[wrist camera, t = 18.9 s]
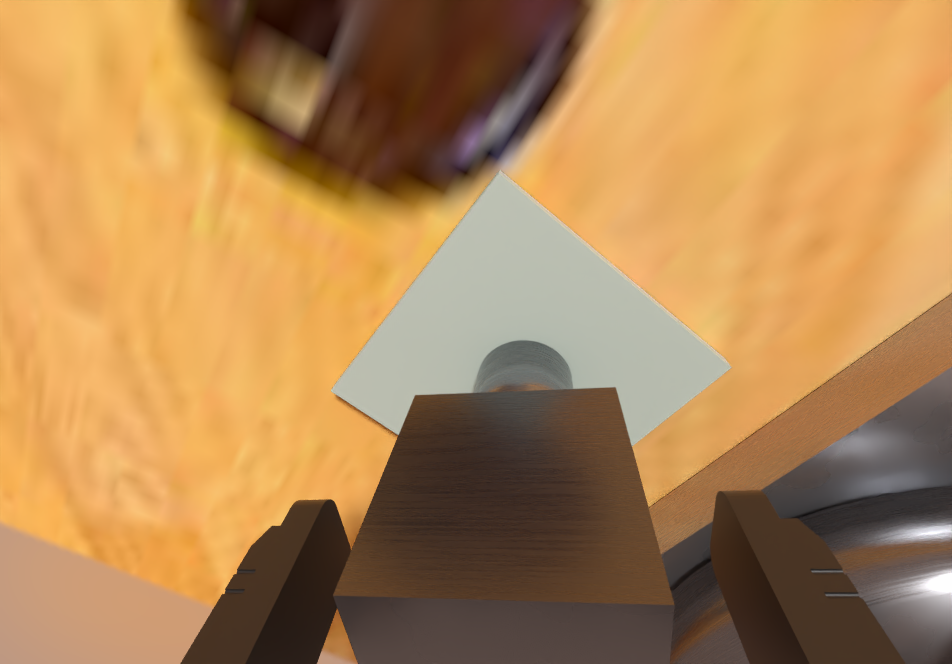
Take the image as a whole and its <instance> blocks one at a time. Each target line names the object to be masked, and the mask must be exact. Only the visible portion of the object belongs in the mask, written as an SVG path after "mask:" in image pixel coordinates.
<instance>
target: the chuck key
mask: <svg viewBox="0 0 952 664" xmlns="http://www.w3.org/2000/svg"><path fill="white" fill-rule="evenodd" d="M333 597H334V600H335V603H336V605H337V608H338V611H339V614H340V616H341V619H342V622H343V624H344V627H345V630H346V632H347V635H348V638H349V641H350V643H351V646H352V649H353V651H354V654H355V657H356V659H357V662H358V664H670V654H671V642H672V631H673V619H674V607H675V605H674V601H673V597H672V593H671V590H670V586H669V582H668V579H667V575H666V571H665V568H664V564H663V560H662V556H661V553H660V549H659V545H658V542H657V538H656V534H655V530H654V527H653V523H652V519H651V516H650V512H649V508H648V505H647V501H646V497H645V493H644V490H643V486H642V482H641V479H640V475H639V471H638V468H637V464H636V460H635V456H634V453H633V449H632V445H631V442H630V438H629V434H628V431H627V427H626V423H625V419H624V416H623V412H622V408H621V405H620V401H619V397H618V393H617V390H616V387H608V388H582V389H573V382H572V375H571V371H570V368H569V366H568V364H567V362H566V361H565V359H564V358H563V357H562V356H561V355H560V354H559V353H558V352H557V351H555V350H554V349H553V348H551V347H549V346H547V345H545V344H542V343H539V342H535V341H529V340H518V341H512V342H508V343H505V344H502V345H500V346H498V347H497V348H495V349H494V350H492V351H491V352H490V353H489V354H488V355H487V356H486V357H485V358H484V360H483V362H482V363H481V365H480V368H479V371H478V375H477V380H476V385H475V389H474V393H456V394H430V395H415V396H414V399H413V401H412V404H411V406H410V409H409V411H408V413H407V416H406V418H405V421H404V423H403V426H402V428H401V431H400V433H399V435H398V438H397V440H396V443H395V445H394V448H393V450H392V452H391V455H390V457H389V460H388V462H387V465H386V467H385V470H384V472H383V474H382V477H381V479H380V482H379V484H378V487H377V489H376V492H375V494H374V496H373V499H372V501H371V504H370V506H369V509H368V511H367V513H366V516H365V518H364V521H363V523H362V526H361V528H360V531H359V533H358V535H357V538H356V540H355V543H354V545H353V548H352V550H351V553H350V555H349V557H348V560H347V562H346V565H345V567H344V570H343V572H342V574H341V577H340V579H339V582H338V584H337V587H336V589H335V592H334V594H333Z"/></svg>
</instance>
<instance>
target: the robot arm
mask: <svg viewBox="0 0 952 664" xmlns="http://www.w3.org/2000/svg"><path fill="white" fill-rule="evenodd" d="M350 553H351V548H350V544H349V542H348V539H347V536H346V533H345V530H344V527H343V524H342V521H341V518H340V515H339V512H338V510H337V507H336V504H335V502H334V501H333V500H331V499H330V500H298V501H296V502H295V503H294V504H293V505H292V507H291V508H290V510H289V512H288V514H287V515H286V517H285V519H284V521H283V523H282V524H281V526H272V527H270V528H269V529H268V530H267V531H266V532H265V533H264V534H263V535H262V536H261V537H260V538H259V539H258V540H257V541H256V542H255V543H254V544H253V545H252V546H251V547H250V549H249V551H248V552H247V554H246V556H245V557H244V559H243V561H242V562H241V564H240V566H239V567H238V569H237V574H234V576H233V577H232V579H231V580H230V582H229V584H228V585H227V587H226V589H225V590H226V591H225V594H222V595H221V597H220V599H219V600H218V602H217V604H216V605H215V607H214V609H213V610H212V612H211V614H210V616H209V617H208V619H207V620H206V622H205V624H204V626H203V627H202V629H201V630H200V632H199V634H198V635H197V637H196V639H195V640H194V642H193V644H192V645H191V647H190V649H189V650H188V652H187V654H186V655H185V657H184V659H183V660H182V662H181V664H317V662H318V659H319V656H320V653H321V651H322V648H323V645H324V642H325V640H326V637H327V634H328V631H329V629H330V626H331V623H332V620H333V618H334V615H335V612H336V609H337V605H336V603H335V600H334V597H333V594H334V592H335V589H336V587H337V584H338V582H339V579H340V577H341V574H342V572H343V570H344V567H345V565H346V562H347V560H348V557H349V555H350ZM710 553H711V560H712V565H713V570H714V573H715V576H716V579H717V582H718V584H719V587H720V589H721V592H722V594H723V597H724V600H725V602H726V605H727V607H728V610H729V612H730V615H731V617H732V620H733V623H734V625H735V628H736V630H737V633H738V635H739V638H740V640H741V643H742V646H743V648H744V651H745V653H746V656H747V658H748V661H749V663H750V664H906V663H905V662H904V660H903V659H902V657H901V656H900V654H899V653H898V651H897V650H896V648H895V646H894V645H893V643H892V642H891V640H890V639H889V637H888V636H887V634H886V633H885V631H884V630H883V628H882V627H881V625H880V624H879V622H878V621H877V619H876V618H875V616H874V615H873V613H872V612H871V610H870V609H869V607H868V606H867V604H866V603H865V601H864V600H863V598H860V597H859V594H858V591H857V589H856V588H855V586H854V585H853V583H852V582H851V580H850V579H849V577H848V576H847V574H844V573H843V568H842V567H841V565H840V564H839V562H838V561H837V559H836V558H835V556H834V555H833V553H832V552H831V550H830V549H829V547H828V546H827V544H826V543H825V541H824V540H822V539H821V538H820V537H819V536H818V535H817V534H815V533H814V532H813V531H812V530H811V529H809V528H808V527H807V526H806V525H805V524H803V523H802V522H801V521H800V520H799V519H797V518H779V516H778V514H777V513H776V511H775V509H774V508H773V506H772V504H771V503H770V501H769V499H768V498H767V496H766V495H765V494H764V492H762V491H761V490H736V491H719V492H718V493H717V495H716V501H715V509H714V517H713V525H712V533H711V541H710Z"/></svg>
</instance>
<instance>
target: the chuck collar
mask: <svg viewBox="0 0 952 664" xmlns="http://www.w3.org/2000/svg"><path fill="white" fill-rule="evenodd" d="M798 519H799V520H800V521H801V522H802V523H803V524H805V525H806V526H807V527H808V528H809V529H811V530H812V531H813V532H814V533H815V534H817V535H818V536H819V537H820V538H821V539H822V540H824V541H825V543H826V544H827V546H828V547H829V549H830V550H831V552H832V553H833V555H834V556H835V558H836V559H837V561H838V562H839V564H840V565H841V567H842V568H843V573H844V574H847V576H848V577H849V579H850V580H851V582H852V583H853V585H854V586H855V588H856V589H857V591H858V594H859V597H860V598H863V600H864V601H865V603H866V604H867V606H868V607H869V609H870V610H871V612H872V613H873V615H874V616H875V618H876V619H877V621H878V622H879V624H880V625H881V627H882V628H883V630H884V631H885V633H886V634H887V636H888V637H889V639H890V640H891V642H892V643H893V645H894V646H895V648H896V650H897V651H898V653H899V654H900V656H901V657H902V659H903V660H904V662H905V663H906V664H952V486H947V487H933V488H925V489H918V490H912V491H906V492H899V493H893V494H887V495H881V496H876V497H872V498H868V499H864V500H860V501H855V502H851V503H847V504H843V505H839V506H835V507H831V508H828V509H825V510H822V511H819V512H816V513H813V514H810V515H807V516H804V517H801V518H798ZM671 593H672V597H673V601H674V605H675V607H674V619H673V631H672V642H671V654H670V664H750V663H749V661H748V658H747V656H746V653H745V651H744V648H743V646H742V643H741V640H740V638H739V635H738V633H737V630H736V628H735V625H734V623H733V620H732V617H731V615H730V612H729V610H728V607H727V605H726V602H725V600H724V597H723V594H722V592H721V589H720V587H719V584H718V582H717V579H716V576H715V573H714V570H713V565H712V561H710V562H709V563H707V564H706V565H705V566H703V567H702V568H700V569H699V570H697V571H696V572H695V573H693V574H692V575H690V576H689V577H688V578H687V579H686V580H684V581H683V582H682V583H681V584H680V585H679V586H678V587H677V588H676V589H674V590H673V591H672V592H671Z"/></svg>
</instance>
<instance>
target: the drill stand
mask: <svg viewBox="0 0 952 664" xmlns="http://www.w3.org/2000/svg"><path fill="white" fill-rule="evenodd" d="M947 486H952V294H951V295H950V296H948V297H947V298H945V299H944V300H943V301H941V302H940V303H938V304H937V305H935V306H934V307H933V308H931V309H930V310H928V311H927V312H926V313H924V314H923V315H921V316H920V317H918V318H917V319H916V320H914V321H913V322H911V323H910V324H909V325H907V326H906V327H904V328H903V329H901V330H900V331H899V332H897V333H896V334H894V335H893V336H892V337H890V338H889V339H887V340H886V341H884V342H883V343H882V344H880V345H879V346H877V347H876V348H875V349H873V350H872V351H870V352H869V353H867V354H866V355H865V356H863V357H862V358H860V359H859V360H858V361H856V362H855V363H853V364H852V365H850V366H849V367H848V368H846V369H845V370H843V371H842V372H841V373H839V374H838V375H836V376H835V377H834V378H832V379H831V380H829V381H828V382H826V383H825V384H824V385H822V386H821V387H819V388H818V389H817V390H815V391H814V392H812V393H811V394H809V395H808V396H807V397H805V398H804V399H802V400H801V401H800V402H798V403H797V404H795V405H794V406H792V407H791V408H790V409H788V410H787V411H785V412H784V413H783V414H781V415H780V416H778V417H777V418H775V419H774V420H773V421H771V422H770V423H768V424H767V425H766V426H764V427H763V428H761V429H760V430H758V431H757V432H756V433H754V434H753V435H751V436H750V437H749V438H747V439H746V440H744V441H743V442H741V443H740V444H739V445H737V446H736V447H734V448H733V449H732V450H730V451H729V452H727V453H726V454H724V455H723V456H722V457H720V458H719V459H717V460H716V461H715V462H713V463H712V464H710V465H709V466H707V467H706V468H705V469H703V470H702V471H700V472H699V473H698V474H696V475H695V476H693V477H692V478H691V479H689V480H688V481H686V482H685V483H683V484H682V485H681V486H679V487H678V488H676V489H675V490H674V491H672V492H671V493H669V494H668V495H666V496H665V497H664V498H662V499H661V500H659V501H658V502H657V503H655V504H654V505H652V506H651V507H649V512H650V516H651V519H652V523H653V527H654V530H655V534H656V538H657V542H658V545H659V549H660V553H661V556H662V560H663V564H664V568H665V571H666V575H667V579H668V582H669V586H670V590H671V592H672V591H673V590H674V589H676V588H677V587H678V586H679V585H680V584H681V583H682V582H683V581H684V580H686V579H687V578H688V577H689V576H690V575H692V574H693V573H695V572H696V571H697V570H699V569H700V568H702V567H703V566H705V565H706V564H707V563H709V562H710V561H712V560H711V553H710V541H711V533H712V525H713V517H714V509H715V501H716V495H717V493H718V492H719V491H736V490H761V491H762V492H764V494H765V495H766V496H767V498H768V499H769V501H770V503H771V504H772V506H773V508H774V509H775V511H776V513H777V514H778V516H779V518H797V519H798V518H801V517H804V516H807V515H810V514H813V513H816V512H819V511H822V510H825V509H828V508H831V507H835V506H839V505H843V504H847V503H851V502H855V501H860V500H864V499H868V498H872V497H876V496H881V495H887V494H893V493H899V492H906V491H912V490H918V489H925V488H933V487H947Z"/></svg>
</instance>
